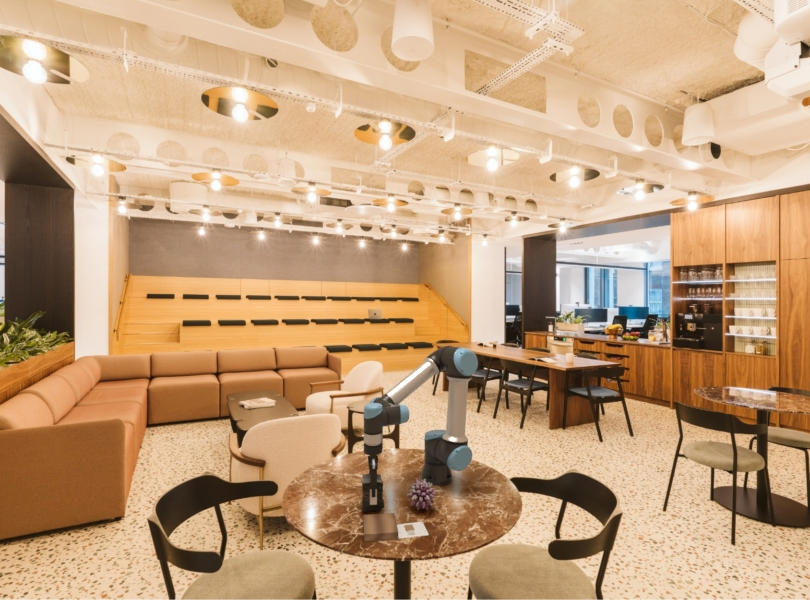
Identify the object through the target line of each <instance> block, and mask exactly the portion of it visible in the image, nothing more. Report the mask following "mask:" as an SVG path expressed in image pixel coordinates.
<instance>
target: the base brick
mask: <svg viewBox="0 0 810 600" xmlns="http://www.w3.org/2000/svg"><path fill="white" fill-rule="evenodd" d="M362 519H363V536H364V539H363V540H364V542H380V541H381V542H382V541H396V540H397V541H398V540H399V538H398V528H397V525H398V524H397V518H396V514H395V512H390V513H375V514H373V513H372V514H363V518H362Z"/></svg>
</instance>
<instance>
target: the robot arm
mask: <svg viewBox="0 0 810 600" xmlns="http://www.w3.org/2000/svg"><path fill="white" fill-rule="evenodd" d="M478 366H479V360H478V357H477V355H476V354H475V352H474V351H472V349H469V348H466V347H460V346H454V345H444V346H441V347H439V348H437V349H436V350H434V351H433V352H432V353H430V354H429V355H428V356H426V357H425V358H424V360H423V362H422V363H421V364H419V366H417V367H416V368H415V369H414V370H413V371H411V372H410V373H408V375H406V376H405V377H404V378H402V379H401V380H400V381H399V382H398V383H397V384H395V385H394V386H393V387H392V388H390V389H389V390H388V391H387V392H385V393H384V394H382V395H381V396H380V397H379V396H378V397H377V396H376V397H373V398H372V399H371V400H370V401H369V403H367V404H365V405H364V408H363V434H362V435H361V436H362V437H361V438H363V453H364V454H365V455H367V462H368V474H370V487H368V488H369V489H370V505H377V474H378V469H379V468H378V466H379V465H378V463H379V457H378V455H380V454H382V453H383V427H389V426H395V425H402V424H404V423H408V422H409V419H410V410H409V407H408V406H407V405H406V404H401V403H402V402H404V400H405V399H407V398H408V397H409V396H410V395H412V394H413V393H414V392H415V391H417V390H418V389H419V388H420V387H422V386H423V384H425V383H426V382H427V381H428V380H430V378H431V379H432V377H433V376H435V375H436V376H437V375H439V374H440V373H441V372H444V371H446V372H445V373H446V374H445V377H446V378H447V380H448V392H447V395H448V397H447V408H446V409H447V412H446V423H445V425H446V426H445V429H433V430H428V431H426V432H425V433H424V439H423V441H424V463H423V466H422V469H421V472H420V481H421V480H423V481H424V479H426V482H427V484H428V483H429V482H430V484H431V483H432V484H433V485H432V487H433V486H435V487H440V486H441V487H442V486H446V485H449V484H451V483H452V481H453V473H452V470H453V471H454V472H455V471H456V472H461V471H464V470H465V469H467V468H468V466H470V464H471V462H472V460H473V451H472V449H471V448H470V446H469V439H468V437H467V435H466V423H467V422H466V420H467V410H468V409H467V406H468V391H469V387H468V386H469V382H470V381H471V380H472V378H473V375H474V374H475V373H476V371H477V369H478V368H479V367H478Z"/></svg>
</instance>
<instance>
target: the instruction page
mask: <svg viewBox="0 0 810 600" xmlns="http://www.w3.org/2000/svg"><path fill="white" fill-rule="evenodd" d="M397 528H398V540H399V539H408V538H417V537H425V536H426V537H427V536H429V532H428V530H427V528H426V526H425V524H424V522H423V521H416V522H408V523H399V524H397Z"/></svg>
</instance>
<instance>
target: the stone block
mask: <svg viewBox="0 0 810 600" xmlns="http://www.w3.org/2000/svg"><path fill="white" fill-rule="evenodd" d="M361 478H362V479H361V483H362V484H361V492H362V493H361V513H369V512H377V511H378V512H379V511H381V510H382V509H384V508H385V501H384V497H383V496H384V493H383V492H384V491H383V490H384V483H383V479H382V475H381V473H379V474H378V473H377V505H370V489H369V488H368V487H370V474H369V473H364V474H363V473H362V477H361Z"/></svg>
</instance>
